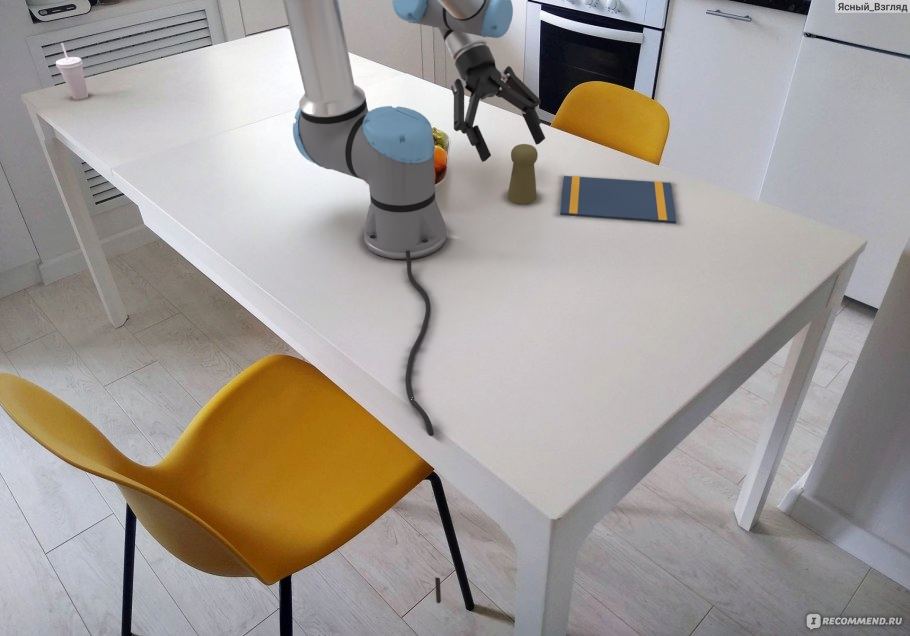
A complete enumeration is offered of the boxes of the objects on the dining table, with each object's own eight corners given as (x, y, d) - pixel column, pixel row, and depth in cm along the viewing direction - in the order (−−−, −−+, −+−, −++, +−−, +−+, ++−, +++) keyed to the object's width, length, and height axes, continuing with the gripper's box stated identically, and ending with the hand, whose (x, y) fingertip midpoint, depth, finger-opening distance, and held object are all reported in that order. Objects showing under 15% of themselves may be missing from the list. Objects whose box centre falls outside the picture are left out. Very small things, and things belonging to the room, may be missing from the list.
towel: (675, 223, 136) (676, 220, 136) (560, 214, 139) (560, 212, 139) (670, 184, 149) (670, 182, 148) (564, 177, 152) (564, 175, 151)
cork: (535, 205, 142) (538, 154, 135) (505, 203, 143) (506, 152, 136) (538, 191, 147) (541, 141, 140) (509, 189, 148) (511, 139, 141)
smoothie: (89, 90, 196) (71, 38, 187) (96, 97, 192) (79, 44, 184) (64, 96, 193) (45, 43, 184) (72, 103, 189) (53, 49, 180)
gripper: (511, 52, 151) (552, 142, 151) (411, 76, 140) (455, 173, 140) (528, 32, 144) (571, 126, 144) (424, 55, 134) (470, 158, 133)
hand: (514, 150), depth 142 cm, fingers open, 13 cm apart
